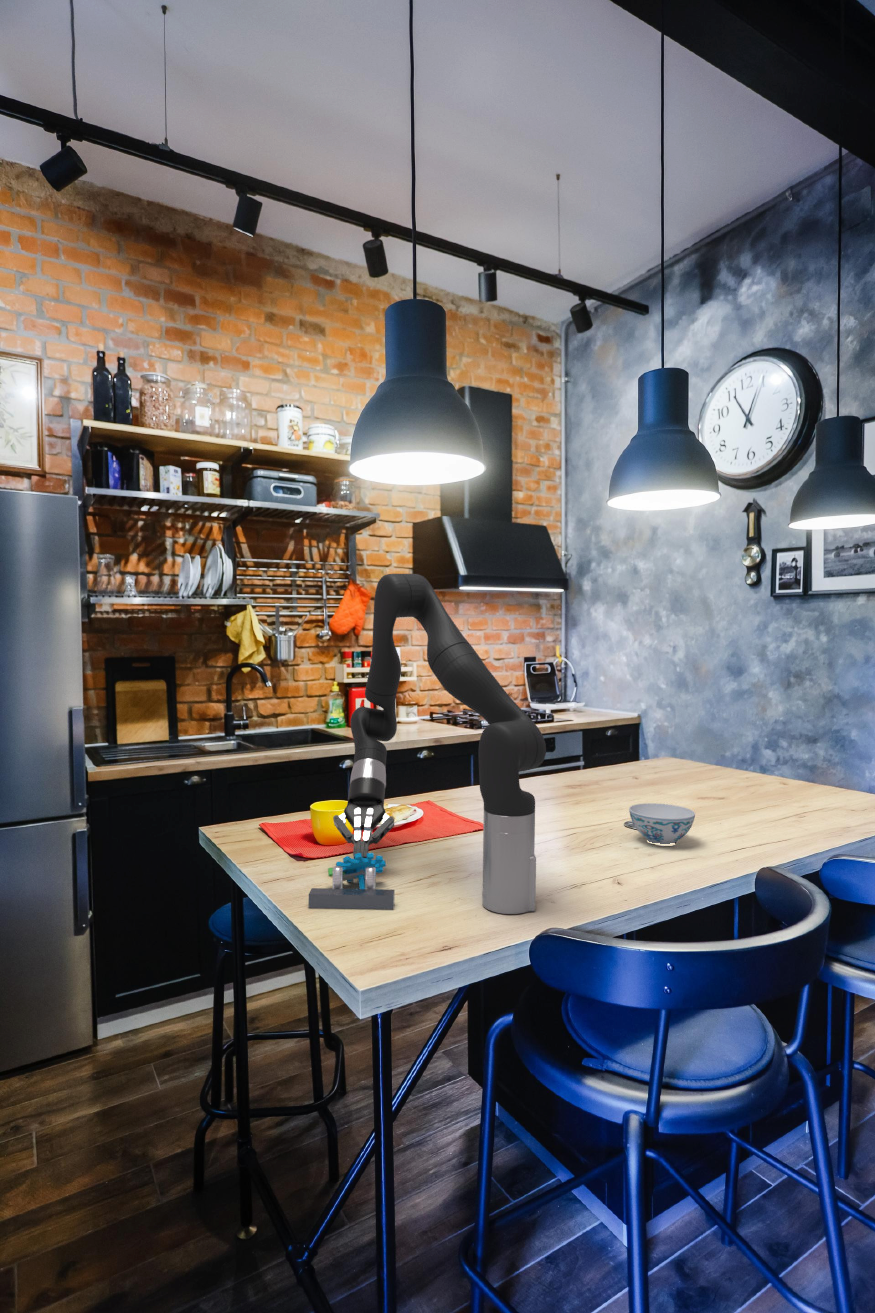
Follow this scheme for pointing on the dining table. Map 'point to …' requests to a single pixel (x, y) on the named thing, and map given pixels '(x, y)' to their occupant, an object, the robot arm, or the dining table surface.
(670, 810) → the chinaware
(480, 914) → the dining table surface
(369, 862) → the blue bumpy piece
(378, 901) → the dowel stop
